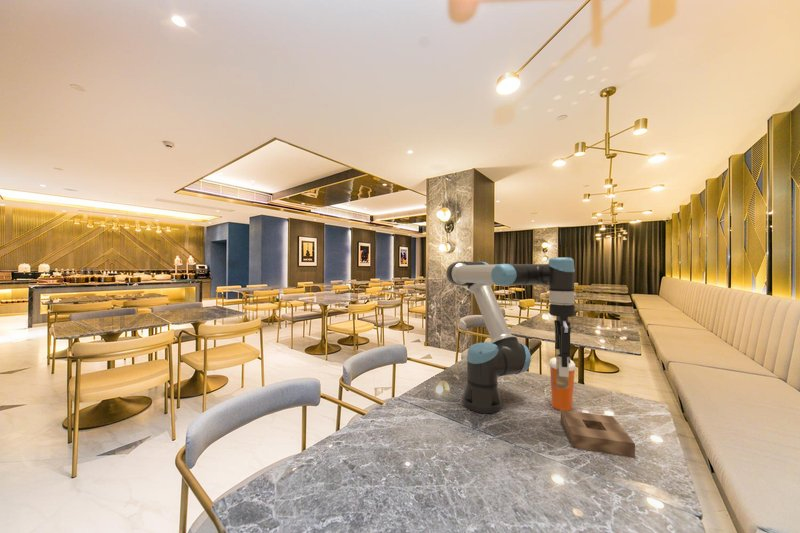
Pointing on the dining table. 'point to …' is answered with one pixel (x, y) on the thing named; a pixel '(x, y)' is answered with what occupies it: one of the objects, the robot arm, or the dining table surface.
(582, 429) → the socket block
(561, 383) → the peg
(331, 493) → the dining table surface
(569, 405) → the shaker bottle
